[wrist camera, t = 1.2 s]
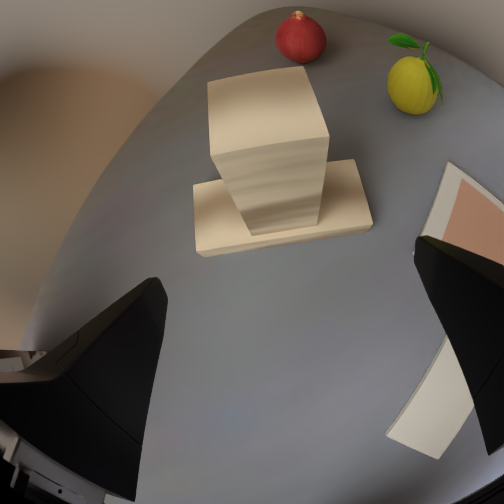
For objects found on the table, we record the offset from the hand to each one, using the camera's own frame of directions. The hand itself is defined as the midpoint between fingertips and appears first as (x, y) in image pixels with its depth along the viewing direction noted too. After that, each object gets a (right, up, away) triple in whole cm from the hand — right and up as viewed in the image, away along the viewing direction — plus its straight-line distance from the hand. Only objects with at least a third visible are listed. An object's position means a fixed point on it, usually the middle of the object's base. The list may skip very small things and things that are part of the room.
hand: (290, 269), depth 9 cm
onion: (+5, +24, +20) cm, 31 cm away
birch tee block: (+1, +4, +15) cm, 16 cm away
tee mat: (+20, -6, +9) cm, 22 cm away
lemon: (+15, +16, +16) cm, 28 cm away
